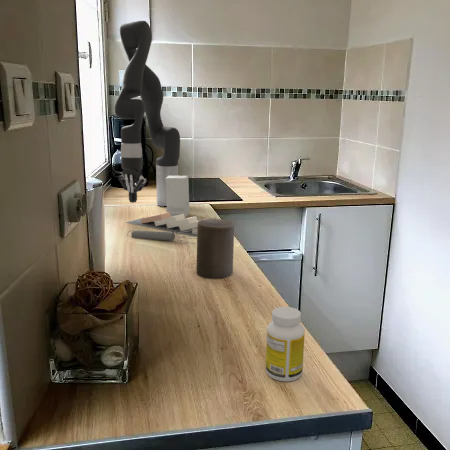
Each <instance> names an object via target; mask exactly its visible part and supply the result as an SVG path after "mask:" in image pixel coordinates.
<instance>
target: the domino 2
mask: <svg viewBox="0 0 450 450" xmlns="http://www.w3.org/2000/svg"><path fill="white" fill-rule="evenodd" d="M182 219H186V217H185V216H184V214H181V215H177V216H171V217H169V218H165V219H162V220H157V221H154V222H155V226H159V225H163V224H167V223H171V222H175V221H179V220H182Z"/></svg>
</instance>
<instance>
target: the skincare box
mask: <svg viewBox="0 0 450 450" xmlns="http://www.w3.org/2000/svg"><path fill="white" fill-rule="evenodd" d="M165 181H166V205H167V207H166V213H168V212H170V215H171V217H173V216H177V215H181V214H184V216H185V218H188V216H189V214H190V194H189V193H190V191H189V189H190V188H189V186H190V185H189V175H178V176H168V177H167V178H165Z"/></svg>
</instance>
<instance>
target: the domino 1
mask: <svg viewBox="0 0 450 450" xmlns="http://www.w3.org/2000/svg"><path fill="white" fill-rule="evenodd" d="M169 217H172V216H171V215H170V212H168V213H167V212H163V213H158V214H153V215H149V216H146V217H141V223H147V222H152V221H157V220H162V219H165V218H169Z"/></svg>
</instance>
